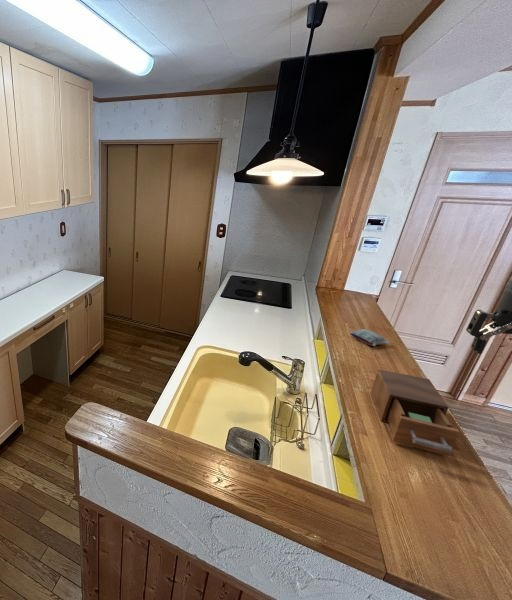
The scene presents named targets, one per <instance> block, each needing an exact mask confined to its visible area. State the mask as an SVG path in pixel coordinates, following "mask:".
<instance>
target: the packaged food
mask: <svg viewBox="0 0 512 600" xmlns="http://www.w3.org/2000/svg"><path fill="white" fill-rule="evenodd" d="M349 334H350V335H351V336H352V337H353V339H355V340H357V341H360V342H362V343H364V344H365V345H367V346H373V347H376V346H379V345H385V344H388V345H391V343H390V341H389V340H388V339H385V337H384V336H382V335H380V334H378V333H377V332H374V331H372V330H369V329H365V328H361V329H358V330H355V331H350V332H349Z"/></svg>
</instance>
